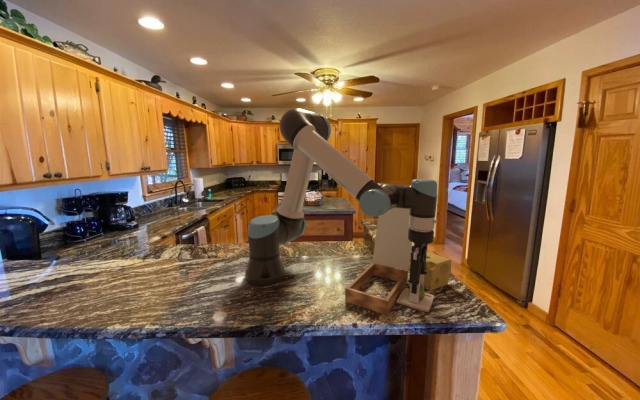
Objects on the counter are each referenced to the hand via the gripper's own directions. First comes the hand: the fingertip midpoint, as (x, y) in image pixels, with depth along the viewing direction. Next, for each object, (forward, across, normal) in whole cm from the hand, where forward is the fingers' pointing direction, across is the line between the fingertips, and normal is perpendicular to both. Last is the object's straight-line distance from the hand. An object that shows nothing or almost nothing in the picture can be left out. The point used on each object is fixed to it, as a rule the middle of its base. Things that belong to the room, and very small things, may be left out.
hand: (416, 296), depth 85 cm
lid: (-15, +14, +13) cm, 24 cm away
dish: (+1, 0, 0) cm, 1 cm away
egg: (+1, 0, 0) cm, 1 cm away
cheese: (+2, +16, -1) cm, 16 cm away
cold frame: (+1, +2, +13) cm, 13 cm away
